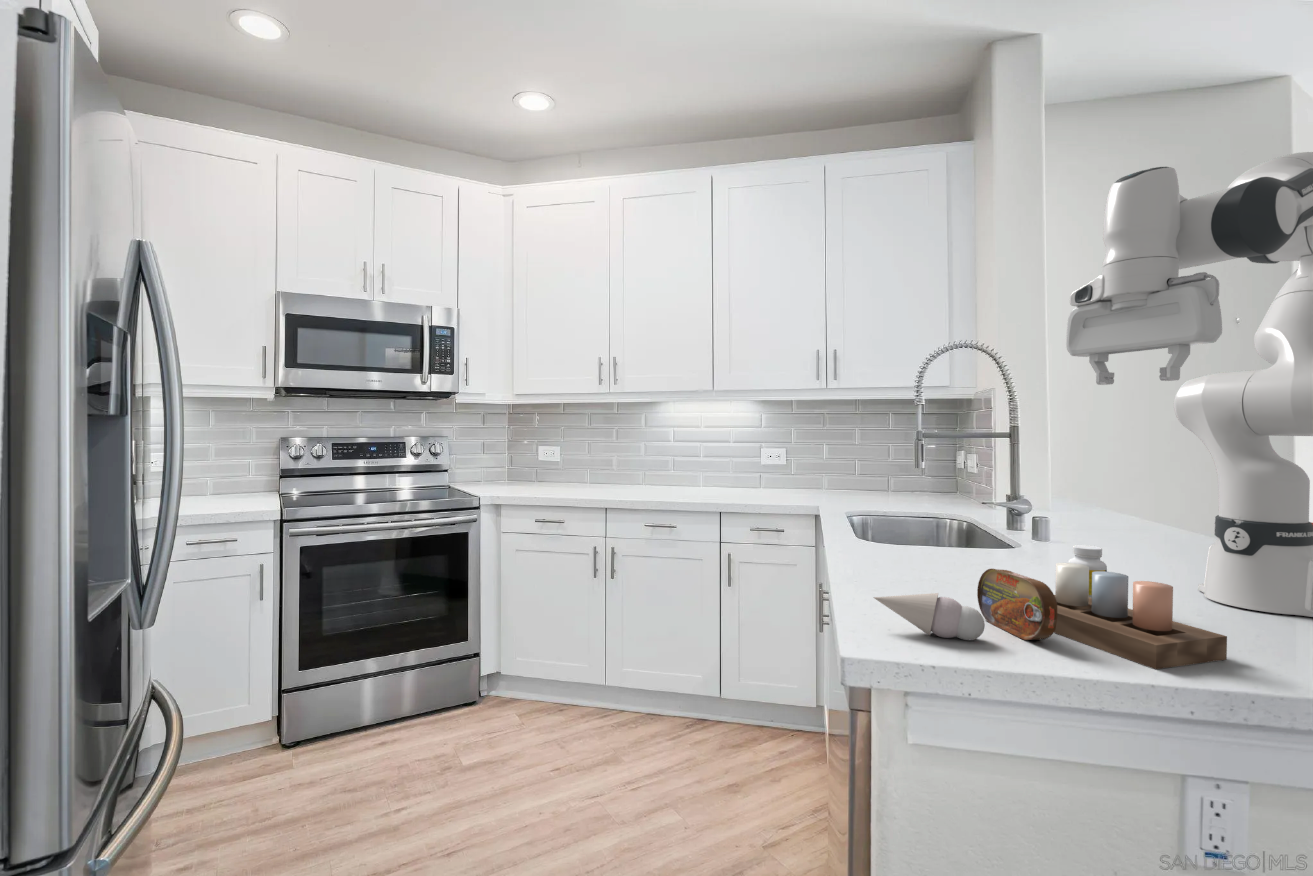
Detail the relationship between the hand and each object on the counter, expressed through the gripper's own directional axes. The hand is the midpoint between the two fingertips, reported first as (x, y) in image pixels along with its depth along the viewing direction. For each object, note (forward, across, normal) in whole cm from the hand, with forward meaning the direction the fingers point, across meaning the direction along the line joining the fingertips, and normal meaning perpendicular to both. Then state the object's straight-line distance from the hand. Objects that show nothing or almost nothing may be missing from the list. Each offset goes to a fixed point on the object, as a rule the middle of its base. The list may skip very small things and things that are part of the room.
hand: (1135, 382), depth 93 cm
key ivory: (+33, +5, +4) cm, 33 cm away
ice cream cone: (+37, +7, +28) cm, 47 cm away
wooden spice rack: (+36, 0, +4) cm, 36 cm away
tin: (+36, +5, +15) cm, 40 cm away
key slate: (+33, -1, +4) cm, 33 cm away
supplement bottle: (+36, +13, -7) cm, 39 cm away
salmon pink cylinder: (+33, -7, +4) cm, 34 cm away
